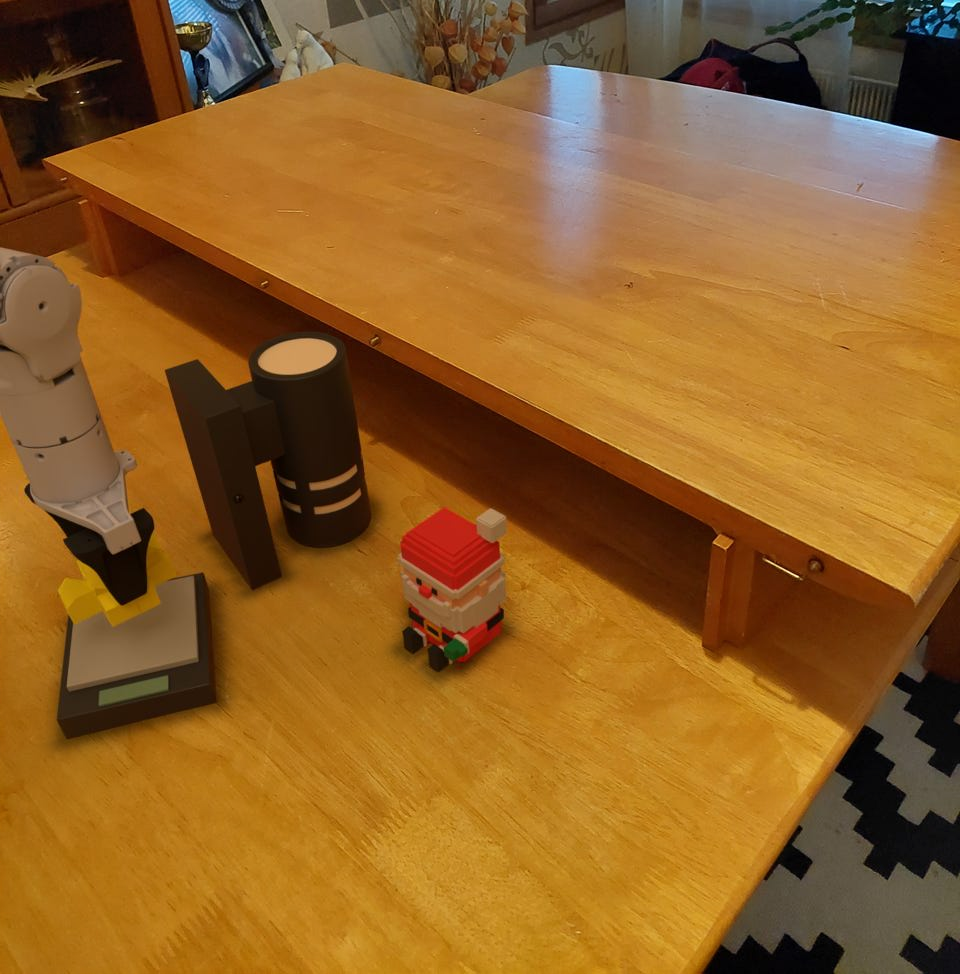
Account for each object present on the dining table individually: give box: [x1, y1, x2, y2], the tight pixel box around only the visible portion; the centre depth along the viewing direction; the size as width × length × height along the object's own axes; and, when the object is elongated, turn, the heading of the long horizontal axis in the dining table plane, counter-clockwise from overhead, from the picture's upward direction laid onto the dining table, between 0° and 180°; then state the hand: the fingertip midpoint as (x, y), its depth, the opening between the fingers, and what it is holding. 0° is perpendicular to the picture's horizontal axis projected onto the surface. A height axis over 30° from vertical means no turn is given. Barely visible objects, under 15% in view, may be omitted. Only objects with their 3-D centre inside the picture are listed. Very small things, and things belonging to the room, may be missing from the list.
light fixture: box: [164, 331, 372, 591], centre depth 81 cm, size 10×14×18 cm
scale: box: [56, 571, 217, 739], centre depth 74 cm, size 13×11×3 cm
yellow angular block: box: [56, 531, 177, 627], centre depth 68 cm, size 6×8×8 cm
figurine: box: [397, 506, 508, 672], centre depth 71 cm, size 8×7×12 cm
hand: (115, 575), depth 69 cm, fingers closed on yellow angular block, 6 cm apart
